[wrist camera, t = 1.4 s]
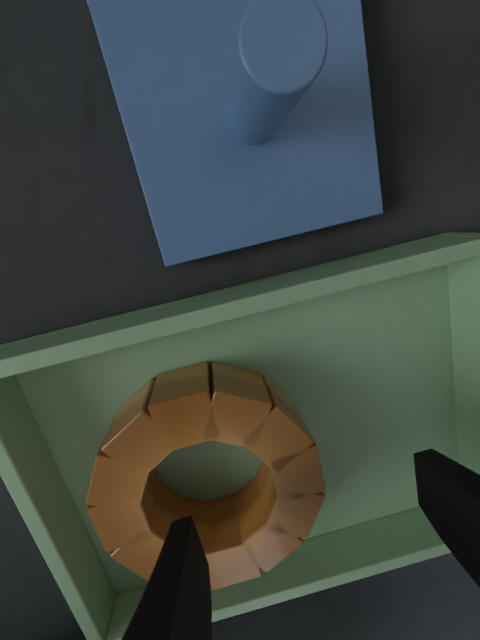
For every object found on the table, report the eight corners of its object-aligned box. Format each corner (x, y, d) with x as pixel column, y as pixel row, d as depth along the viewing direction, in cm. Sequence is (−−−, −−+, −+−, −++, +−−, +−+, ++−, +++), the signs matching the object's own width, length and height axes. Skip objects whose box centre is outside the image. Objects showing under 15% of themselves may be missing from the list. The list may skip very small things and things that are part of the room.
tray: (448, 231, 14) (503, 232, 11) (462, 492, 17) (506, 537, 15) (-5, 345, 13) (-55, 374, 10) (111, 592, 17) (95, 657, 14)
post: (370, 214, 13) (484, 205, 8) (167, 264, 13) (143, 290, 8) (341, -41, 11) (471, -294, 6) (94, 11, 11) (-14, -206, 5)
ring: (317, 502, 16) (339, 554, 13) (143, 551, 15) (132, 614, 13) (283, 340, 13) (302, 366, 11) (78, 393, 13) (49, 432, 11)
